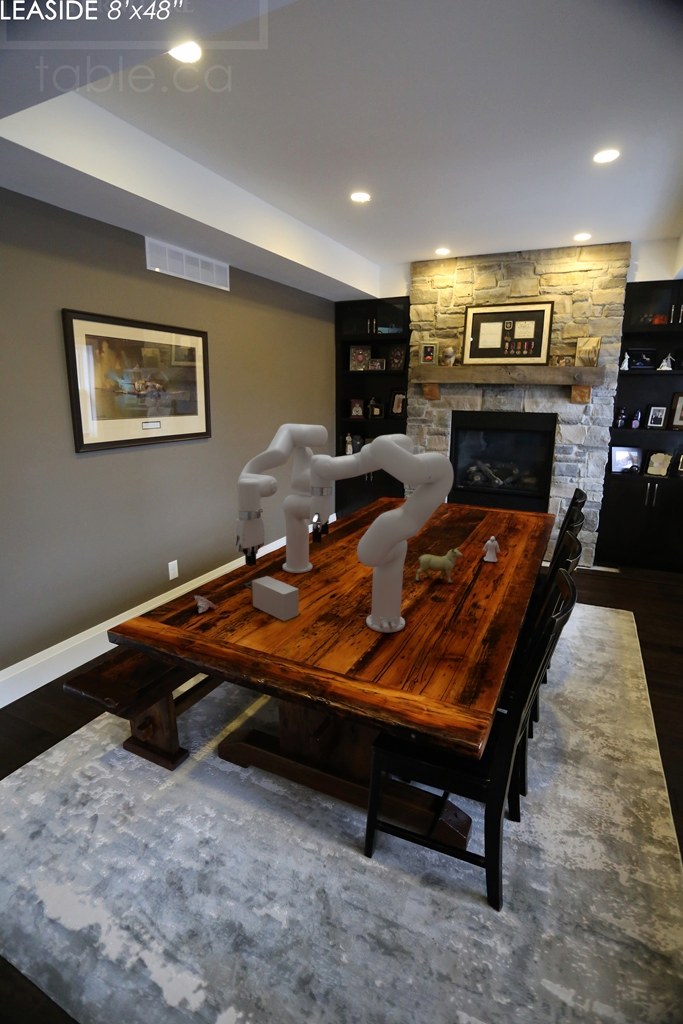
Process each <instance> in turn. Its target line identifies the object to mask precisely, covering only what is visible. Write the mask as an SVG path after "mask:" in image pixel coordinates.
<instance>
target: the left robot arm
mask: <svg viewBox="0 0 683 1024" xmlns="http://www.w3.org/2000/svg"><path fill="white" fill-rule="evenodd" d="M328 438H329V433H328V430H327V428H326V427H325V426H324V425H320V424H307V423H284V424H281V425H280V427H279V428H278V430H277V431H276V433H275V435H274V437H273V438H272V440H271V442H270V444H269V446H268V447H267V449H266V450H265V451H262V452H261V453H258V455H256V456H254V457H253V458H251V459H250V460H249V461H248V462H247V463H246V464H245V466H244V467H243V469H242V471H241V473H240V474H239V477H238V480H237V512H238V513H237V515H238V518H236V520H235V525H234V536H233V537H234V538H233V539H234V546H236V547H235V551H236V552H238V553H243V555H244V562H245V565H246V566H248V567H253V566H256V565H257V554H258V553H259V550H260V548H262V547H263V546H264V545H265V536H266V535H265V526H264V520H263V517H262V514H261V513H263V512H264V510H263V509H262V508H261V498H270V497H272V496H274V495H275V494H276V493H277V491H278V488H279V483H278V481H277V479H276V478H275V477H274V476H272V475H267V474H261V473H263V472H266V471H269V470H272V469H275V468H278V467H281V466H284V465H285V464H286V463H288V461H289V459H290V457H291V455H292V453H293V463H292V468H291V469H292V470H291V476H290V477H291V478H290V487H291V488H292V490H293V491H296V492H300V493H301V492H303V493H310V467H311V457H312V456H314V455H315V454H314V452H313V450H312V448H321V447H323V446H325V445H326V443H327V442H328ZM311 499H312V496H311V495H306V494H295V493H294V494H289V495H287V496H286V497H285V498H284V500H283V503H282V504H283V505H282V506H283V514H284V519H285V551H286V552H285V554H286V555H285V563H283V564H282V570H283V571H285V572H287V573H291V574H303V573H307V572H310V571H311V570H313V567H314V566H313V564H312V562H310V527H309V523H308V522H307V520H309V521H310V510H311Z"/></svg>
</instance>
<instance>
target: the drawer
mask: <svg viewBox="0 0 683 1024" xmlns="http://www.w3.org/2000/svg"><path fill="white" fill-rule="evenodd" d="M252 581H253V580H251V581H249V582H246V583H244V584H243V585H242V587H243V588H244V589H249V590H250V597H251V598H250V599H251V600H250V601H251V603H253V585H252Z"/></svg>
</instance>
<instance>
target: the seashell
mask: <svg viewBox="0 0 683 1024" xmlns="http://www.w3.org/2000/svg"><path fill="white" fill-rule="evenodd" d="M193 598H194V601H195V602H196V603H197V605H196V606H197V607H198V609H197V610H198V611H197V612H198V614H201V613H205V612H206V611H207V610H209V608H210V609H213V610H216V609H217V607H216V604H214V603H213V601H210V600H209V599H207V598H206V597H204V596H201V595H194V596H193Z"/></svg>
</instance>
